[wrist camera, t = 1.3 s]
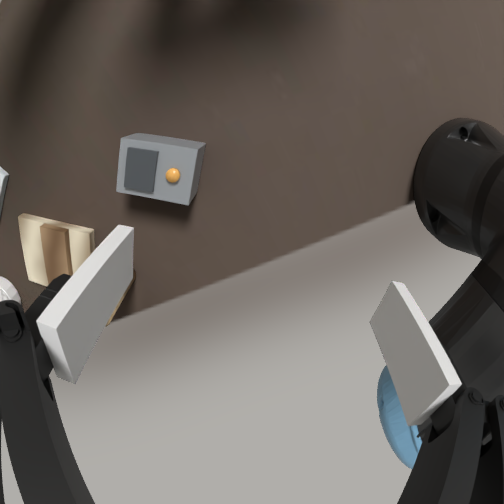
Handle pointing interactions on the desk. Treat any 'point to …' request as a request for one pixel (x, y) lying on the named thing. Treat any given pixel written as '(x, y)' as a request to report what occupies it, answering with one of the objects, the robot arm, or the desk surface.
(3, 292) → the white cup
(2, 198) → the external hard drive
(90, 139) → the desk surface
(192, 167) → the box
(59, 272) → the panel
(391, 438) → the robot arm
